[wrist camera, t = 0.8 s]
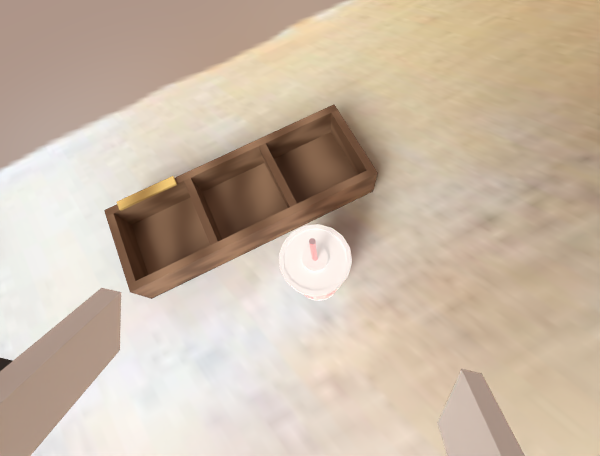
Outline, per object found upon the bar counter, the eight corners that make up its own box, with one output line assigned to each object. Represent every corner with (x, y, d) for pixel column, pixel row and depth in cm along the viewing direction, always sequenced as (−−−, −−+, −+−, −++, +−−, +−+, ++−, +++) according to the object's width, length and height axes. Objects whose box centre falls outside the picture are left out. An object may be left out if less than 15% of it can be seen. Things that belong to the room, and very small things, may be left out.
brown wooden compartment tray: (332, 126, 45) (332, 100, 40) (372, 191, 41) (378, 171, 37) (126, 222, 43) (101, 206, 38) (151, 298, 39) (128, 291, 35)
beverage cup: (286, 305, 38) (263, 280, 25) (292, 249, 40) (274, 198, 27) (345, 310, 37) (353, 288, 24) (348, 253, 39) (358, 203, 26)
